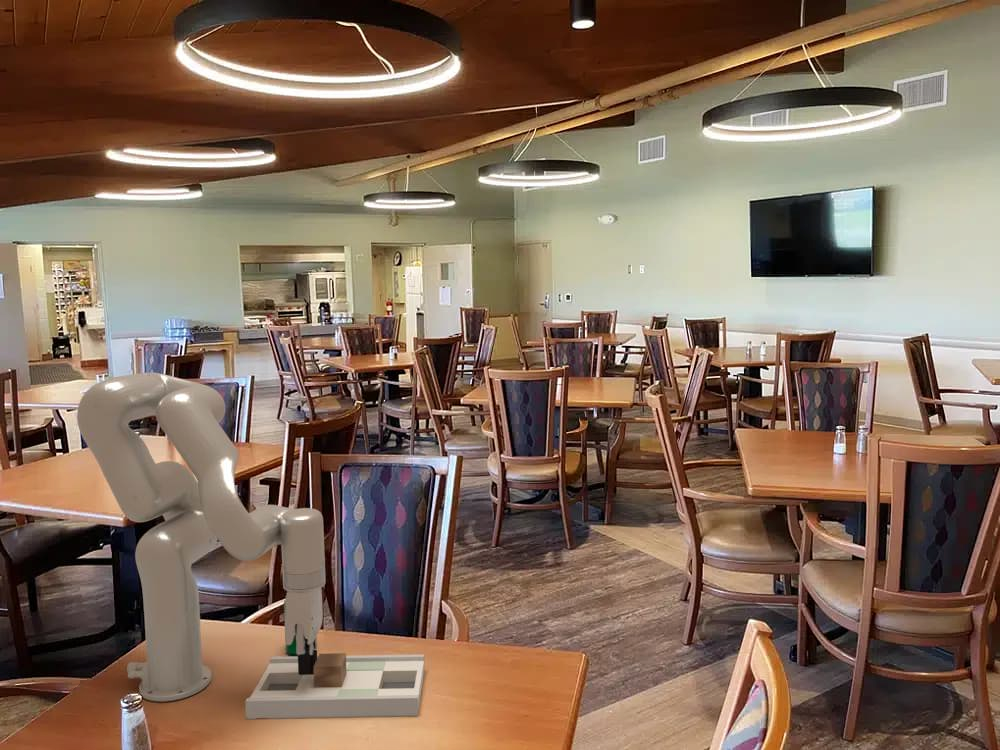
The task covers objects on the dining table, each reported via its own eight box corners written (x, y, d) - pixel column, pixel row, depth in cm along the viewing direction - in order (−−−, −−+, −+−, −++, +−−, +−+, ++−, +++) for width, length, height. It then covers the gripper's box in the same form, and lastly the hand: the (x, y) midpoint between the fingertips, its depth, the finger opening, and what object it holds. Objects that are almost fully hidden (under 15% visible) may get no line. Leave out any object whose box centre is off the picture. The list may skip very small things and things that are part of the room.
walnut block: (314, 687, 135) (313, 666, 135) (320, 673, 140) (319, 653, 140) (341, 687, 135) (341, 666, 135) (346, 673, 140) (345, 653, 140)
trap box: (246, 718, 130) (245, 701, 129) (271, 672, 146) (271, 656, 145) (417, 715, 130) (417, 698, 130) (424, 670, 146) (424, 654, 146)
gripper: (294, 563, 143) (297, 653, 145) (272, 593, 128) (276, 694, 130) (333, 562, 143) (336, 653, 145) (315, 592, 128) (319, 693, 130)
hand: (308, 672), depth 137 cm, fingers closed
